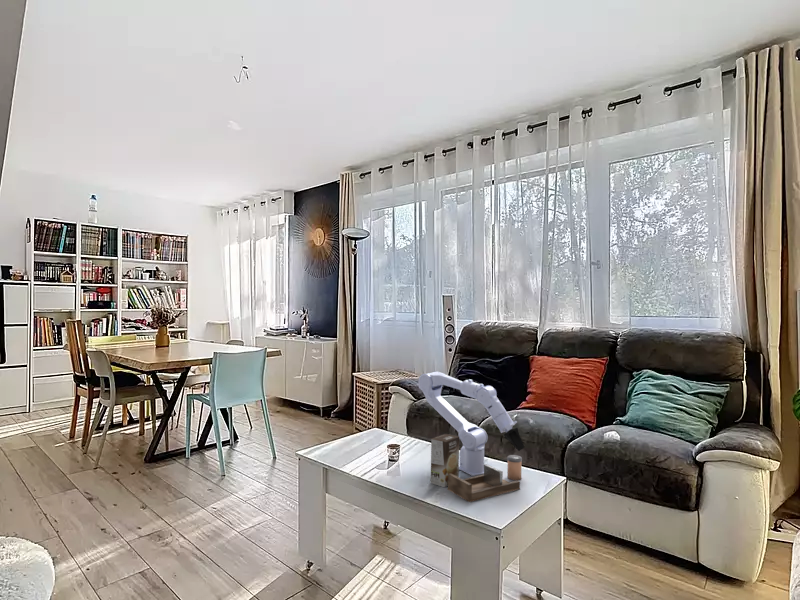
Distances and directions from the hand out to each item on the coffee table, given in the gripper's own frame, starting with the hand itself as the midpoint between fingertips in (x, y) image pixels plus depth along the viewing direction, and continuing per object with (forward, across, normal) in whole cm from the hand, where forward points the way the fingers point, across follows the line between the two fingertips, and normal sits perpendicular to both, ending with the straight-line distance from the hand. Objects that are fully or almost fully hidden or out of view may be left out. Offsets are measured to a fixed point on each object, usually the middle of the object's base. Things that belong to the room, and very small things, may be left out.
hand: (521, 449), depth 175 cm
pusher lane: (+5, -4, +19) cm, 20 cm away
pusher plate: (+6, -1, +16) cm, 17 cm away
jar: (+7, +9, +8) cm, 14 cm away
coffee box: (-4, 0, +30) cm, 30 cm away
